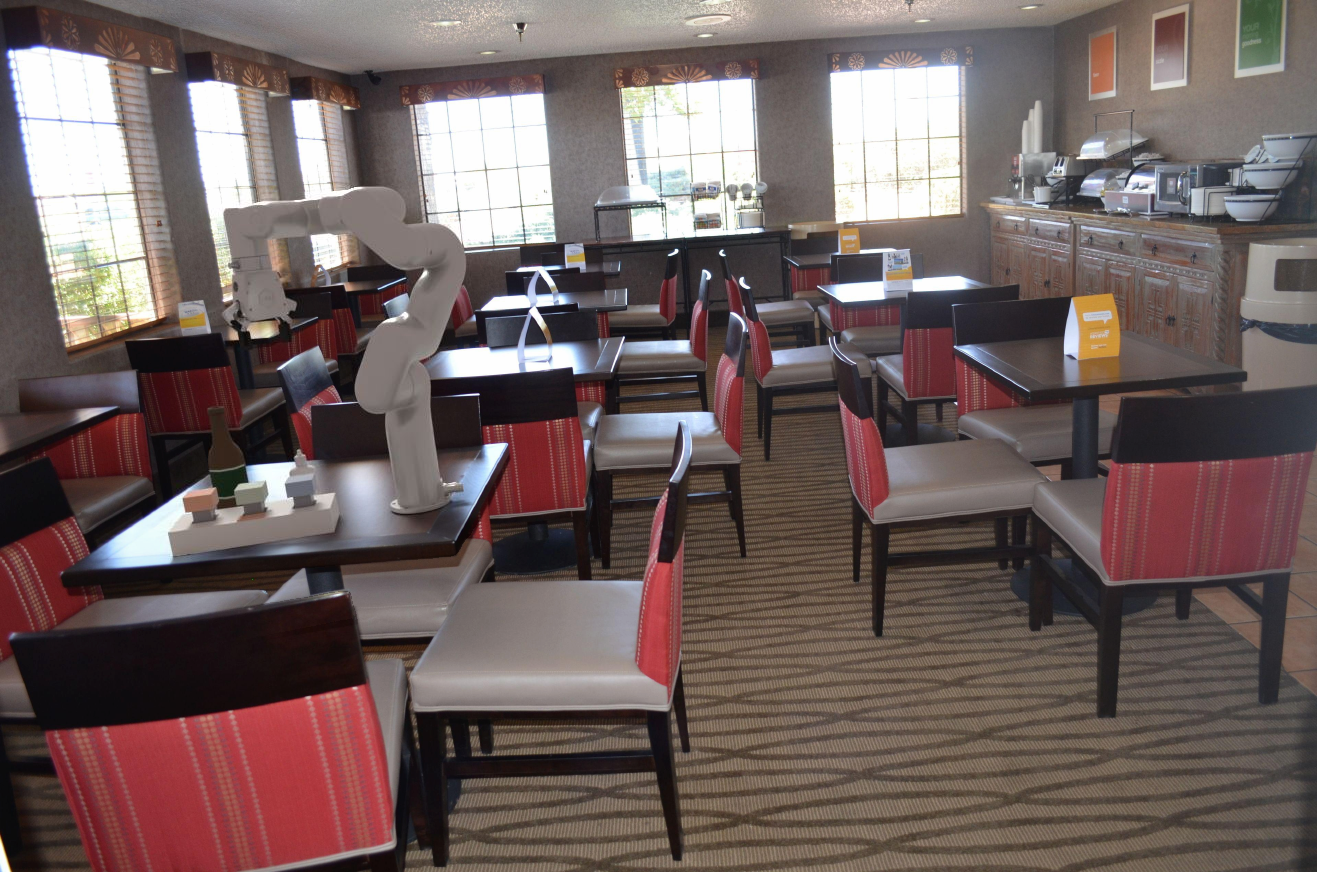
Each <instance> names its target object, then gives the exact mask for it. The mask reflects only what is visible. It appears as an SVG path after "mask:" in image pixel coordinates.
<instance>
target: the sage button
mask: <svg viewBox="0 0 1317 872" xmlns="http://www.w3.org/2000/svg"><path fill="white" fill-rule="evenodd" d="M234 494H235V498H236V503H237V505H243V508H244V513H245V515H251V514H258V513H265V512H266V507H265V503H266V502H265V501H266V500H267V499H268V496H269V489H268V484H267V480H259V481H253V482H249V483H244V484H239V485H238V486H237V487H236V489H235V490H234Z"/></svg>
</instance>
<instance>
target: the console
mask: <svg viewBox="0 0 1317 872" xmlns="http://www.w3.org/2000/svg"><path fill="white" fill-rule="evenodd" d="M320 494H321V493H320ZM314 502H315V506H309V507H302V508H296V509H295V506H294V501H293V498H287V499H283V500H282V499H281V500H275V501H274V500H273V501H268V502H265V507H266V512H265V513H258V514H251V515H245V513H244V508H243V506H239V507H233V508H226V509H219V510H217V509H215V513H216V519H215V521H208V522H201V523H195V524H194V520H193V516H192V513H187V514H186V513H185V514H182V515H181V516H180V517H179V519H178V520H177V521H176V522H175V523H174V525H173V526H171V528H170V529H169V530H168V531H167V535H168V540H169V545H170V548H171V549H170V550H171V553H172V557H173V556H177V557H181V556H180V555H183V556H188V555H187V554H190V555H195V554H201V553H207V552H215V551H222V550H227V549H232V548H233V549H234V548H240V547H247V546H254V545H259V544H267V543H272V542H278V541H279V542H280V541H285V540H292V539H300V538H306V537H312V536H318V535H323V534H324V535H325V534H331V533H335V530H336V528H337V524H338V520H339V517H340V511H339V505H338V499H337V494H336V492H331V493H330V492H329V493H323V494H321V495H315V496H314Z"/></svg>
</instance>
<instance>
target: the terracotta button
mask: <svg viewBox="0 0 1317 872" xmlns="http://www.w3.org/2000/svg"><path fill="white" fill-rule="evenodd" d="M218 502H219V498H218V493H217V489H216V487H215V488H213V487H210V488H208V487H207V488H204V489H203V488H202V489H195V490H188V491H187V492H186V494H185V495H184V496H182V503H183V508H184V513H185V514H186V513H187V514H189V513H191V514H192V516H193V520H194V524H195V523H201V522H208V521H215V519H216V513H215V510H216V509H215V508H216V507H217V506H216V505H217V504H218Z"/></svg>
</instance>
